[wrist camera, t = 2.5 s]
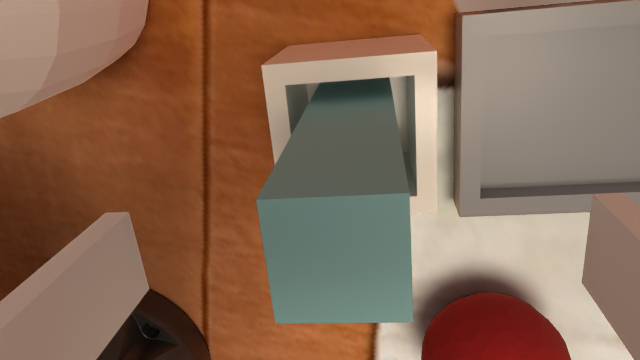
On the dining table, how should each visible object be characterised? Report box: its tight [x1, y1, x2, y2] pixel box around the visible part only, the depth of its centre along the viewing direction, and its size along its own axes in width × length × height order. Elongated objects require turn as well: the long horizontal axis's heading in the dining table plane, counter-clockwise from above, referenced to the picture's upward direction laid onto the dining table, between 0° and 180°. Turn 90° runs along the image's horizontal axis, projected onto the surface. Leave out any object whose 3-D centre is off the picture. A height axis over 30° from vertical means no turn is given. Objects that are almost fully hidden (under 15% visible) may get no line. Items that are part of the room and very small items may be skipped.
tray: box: [454, 0, 640, 217], centre depth 28 cm, size 16×12×2 cm
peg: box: [256, 77, 413, 324], centre depth 22 cm, size 4×4×18 cm
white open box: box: [261, 34, 438, 215], centre depth 27 cm, size 8×8×8 cm
